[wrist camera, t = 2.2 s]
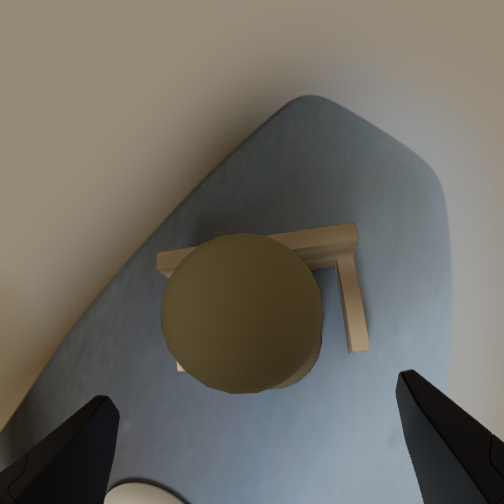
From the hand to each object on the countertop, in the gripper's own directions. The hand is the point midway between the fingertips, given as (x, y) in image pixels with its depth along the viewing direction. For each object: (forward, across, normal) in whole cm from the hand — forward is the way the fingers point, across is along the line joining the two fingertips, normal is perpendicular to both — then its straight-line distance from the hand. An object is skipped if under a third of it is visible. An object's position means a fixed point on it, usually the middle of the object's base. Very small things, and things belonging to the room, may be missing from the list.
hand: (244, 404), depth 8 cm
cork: (+9, 0, +5) cm, 11 cm away
